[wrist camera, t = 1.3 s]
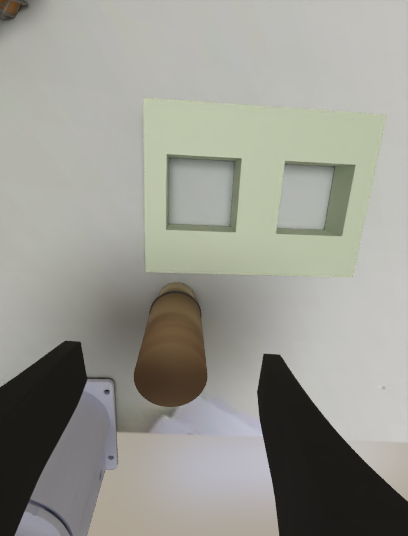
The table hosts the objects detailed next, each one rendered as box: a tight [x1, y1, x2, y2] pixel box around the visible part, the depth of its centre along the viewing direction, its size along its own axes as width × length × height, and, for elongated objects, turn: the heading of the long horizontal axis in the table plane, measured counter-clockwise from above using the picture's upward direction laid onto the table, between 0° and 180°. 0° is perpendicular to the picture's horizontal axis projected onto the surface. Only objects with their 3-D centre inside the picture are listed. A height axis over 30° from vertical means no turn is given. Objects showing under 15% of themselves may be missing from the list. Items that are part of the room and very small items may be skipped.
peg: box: [134, 283, 207, 407], centre depth 18 cm, size 4×4×9 cm
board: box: [143, 98, 387, 277], centre depth 19 cm, size 10×14×2 cm
